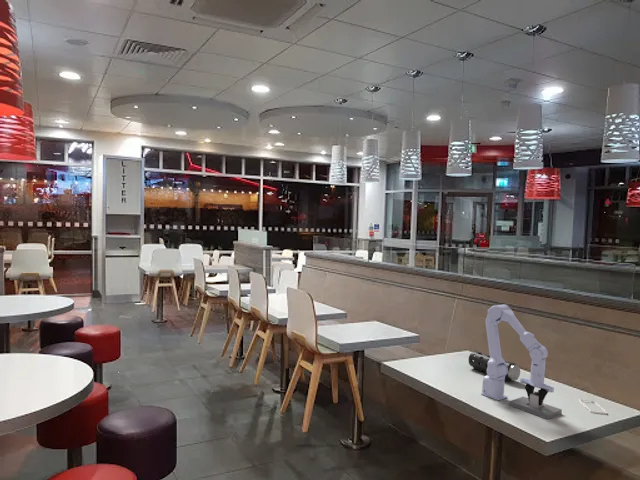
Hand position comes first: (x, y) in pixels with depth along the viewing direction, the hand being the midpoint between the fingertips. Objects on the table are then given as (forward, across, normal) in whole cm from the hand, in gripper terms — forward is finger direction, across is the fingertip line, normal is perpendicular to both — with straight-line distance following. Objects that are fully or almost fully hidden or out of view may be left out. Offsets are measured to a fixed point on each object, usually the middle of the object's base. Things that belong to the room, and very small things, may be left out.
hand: (535, 403), depth 215 cm
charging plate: (+3, 0, 0) cm, 3 cm away
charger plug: (+2, 0, 0) cm, 2 cm away
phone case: (+4, +13, +28) cm, 31 cm away
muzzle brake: (+3, -39, +29) cm, 49 cm away
